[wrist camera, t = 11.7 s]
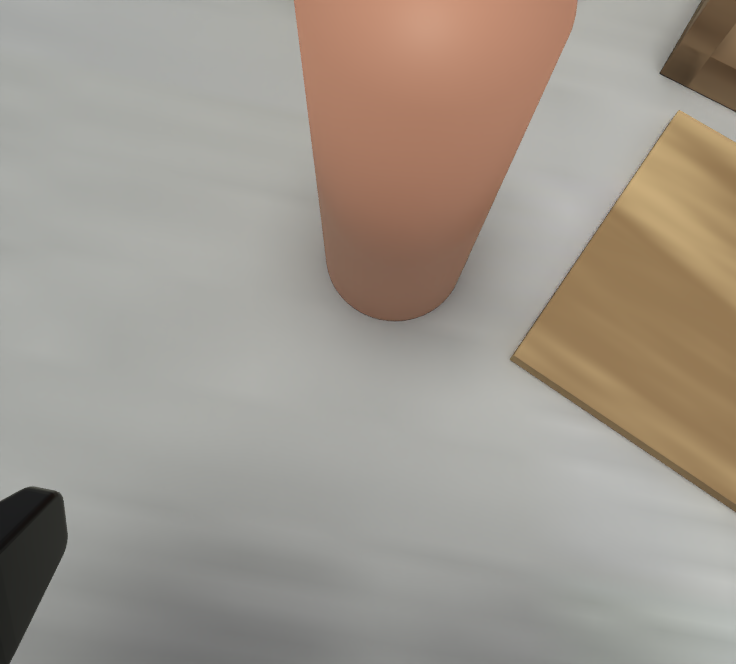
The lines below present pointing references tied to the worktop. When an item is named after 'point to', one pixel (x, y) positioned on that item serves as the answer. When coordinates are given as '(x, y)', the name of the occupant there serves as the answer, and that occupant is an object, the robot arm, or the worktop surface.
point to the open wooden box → (707, 53)
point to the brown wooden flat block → (656, 312)
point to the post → (417, 132)
